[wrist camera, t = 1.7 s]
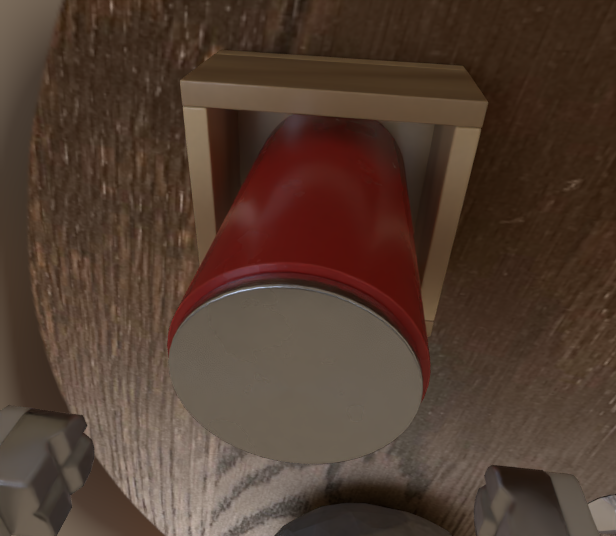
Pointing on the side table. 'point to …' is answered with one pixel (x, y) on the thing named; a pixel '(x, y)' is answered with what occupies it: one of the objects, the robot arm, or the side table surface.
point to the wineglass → (604, 514)
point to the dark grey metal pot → (360, 522)
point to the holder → (346, 104)
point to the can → (308, 301)
